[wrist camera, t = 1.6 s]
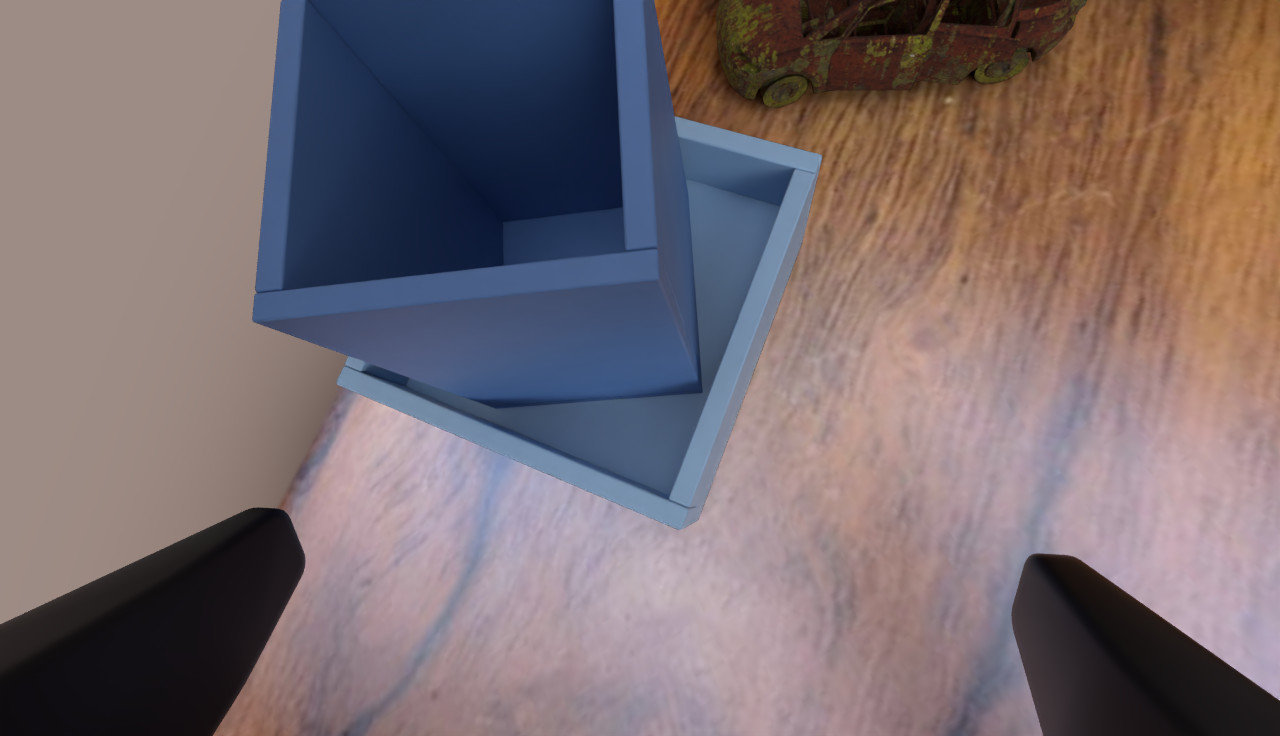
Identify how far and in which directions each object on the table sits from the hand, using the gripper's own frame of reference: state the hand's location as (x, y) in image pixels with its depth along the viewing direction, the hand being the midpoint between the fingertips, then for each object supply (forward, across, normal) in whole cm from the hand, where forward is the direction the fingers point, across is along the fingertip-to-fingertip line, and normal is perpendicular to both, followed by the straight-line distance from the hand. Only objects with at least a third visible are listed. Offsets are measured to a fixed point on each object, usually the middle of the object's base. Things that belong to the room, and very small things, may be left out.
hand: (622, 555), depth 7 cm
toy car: (+23, -6, -6) cm, 24 cm away
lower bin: (+15, +3, +4) cm, 16 cm away
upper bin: (+12, +3, +1) cm, 13 cm away
